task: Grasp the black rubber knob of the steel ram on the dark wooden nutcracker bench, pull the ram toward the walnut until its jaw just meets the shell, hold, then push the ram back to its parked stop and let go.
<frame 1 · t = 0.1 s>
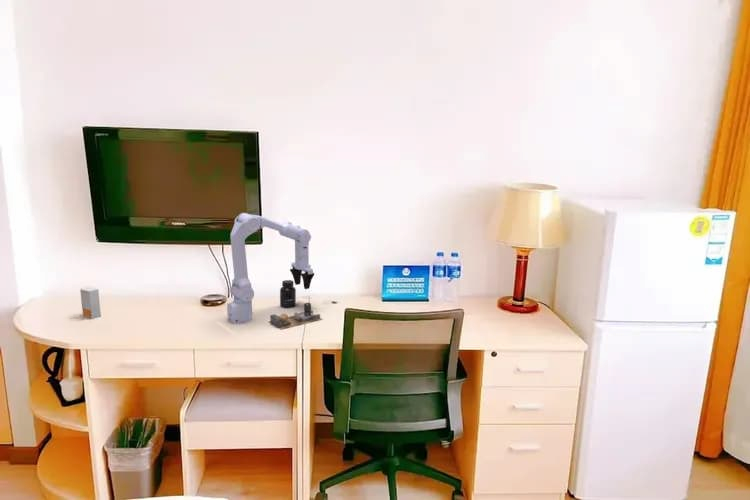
hand: (302, 286, 242), 10 cm above the table, tool pointing down, fingers open, 7 cm apart
bench: (295, 323, 227), on the table
skincare box: (92, 316, 231), on the table
ram: (304, 311, 229), point 4 cm above the table, slide at 2.0 cm
supplement bottle: (288, 308, 245), on the table
walnut: (283, 323, 224), point 1 cm above the table, touching bench
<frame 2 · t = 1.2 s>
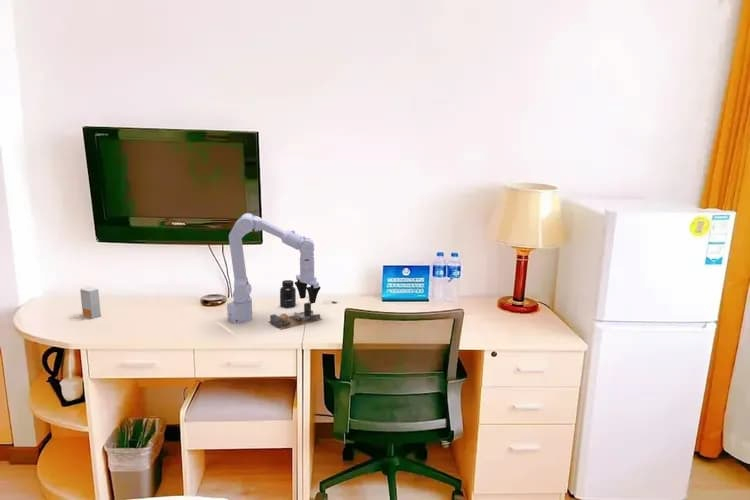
hand: (307, 300, 229), 8 cm above the table, tool pointing down, fingers open, 7 cm apart
nothing on the table moved.
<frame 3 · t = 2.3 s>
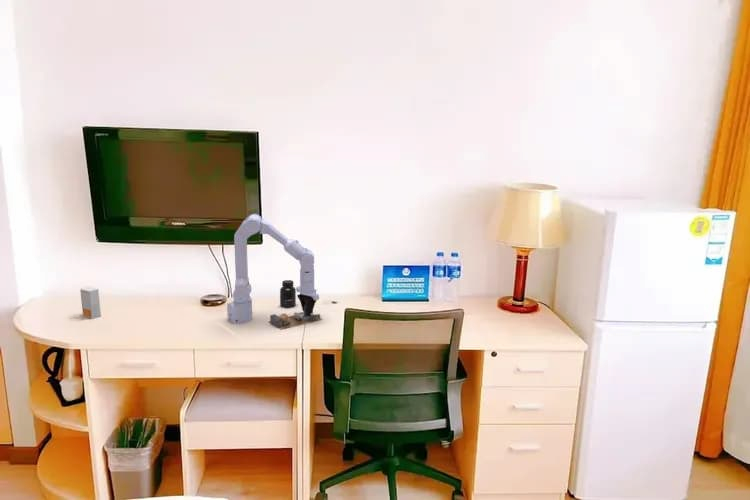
hand: (307, 312, 230), 3 cm above the table, tool pointing down, fingers closed on ram, 3 cm apart
ram: (304, 311, 229), point 4 cm above the table, slide at 2.0 cm, touching gripper
everything else where it was.
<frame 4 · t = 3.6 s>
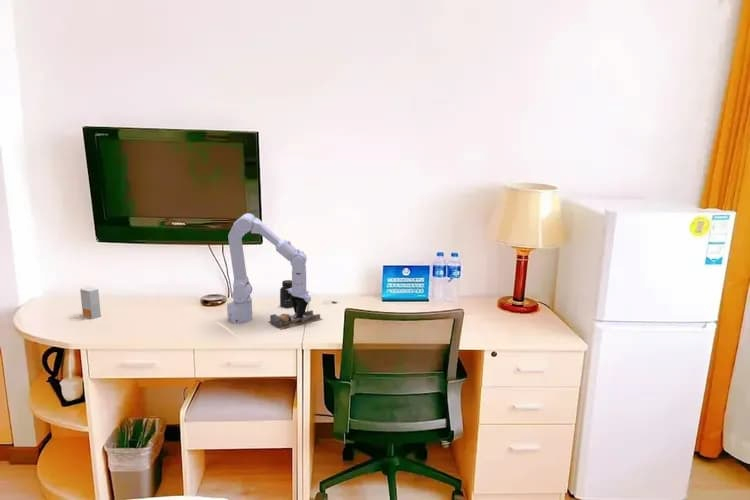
hand: (299, 314, 228), 3 cm above the table, tool pointing down, fingers closed on ram, 3 cm apart
ram: (296, 313, 227), point 4 cm above the table, slide at 5.7 cm, touching gripper
everything else where it was.
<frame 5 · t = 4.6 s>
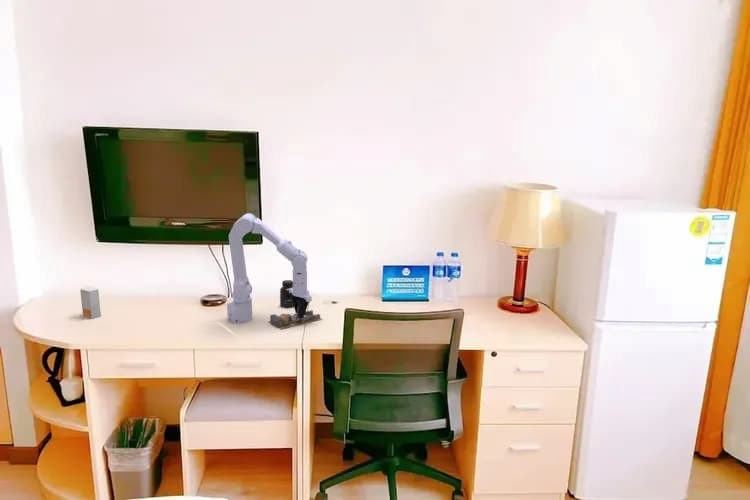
hand: (300, 313, 228), 3 cm above the table, tool pointing down, fingers closed on ram, 3 cm apart
ram: (297, 312, 227), point 4 cm above the table, slide at 5.4 cm, touching gripper
everything else where it was.
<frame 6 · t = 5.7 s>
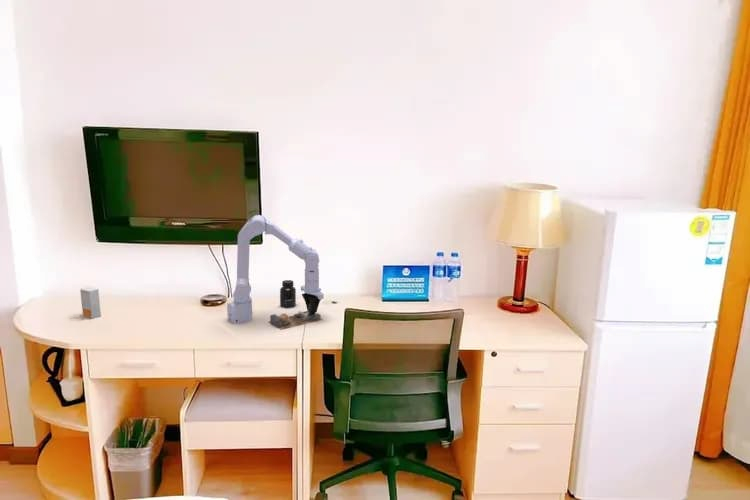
hand: (312, 311, 232), 3 cm above the table, tool pointing down, fingers closed on ram, 3 cm apart
ram: (308, 310, 230), point 4 cm above the table, slide at 0.0 cm, touching gripper
everything else where it was.
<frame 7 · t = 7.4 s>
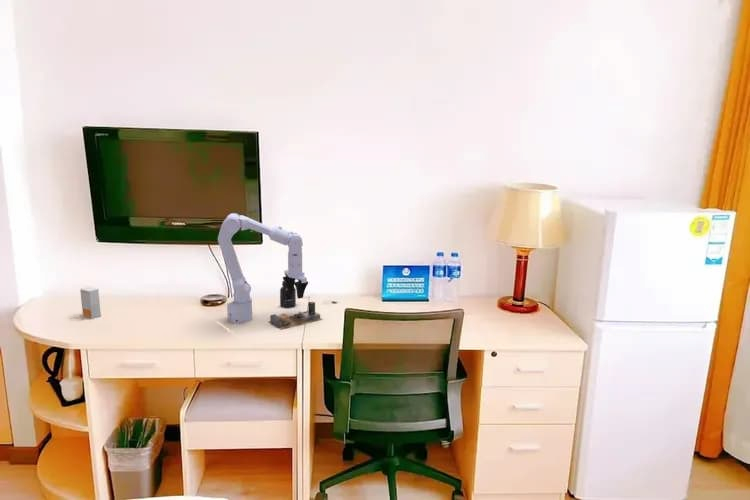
hand: (295, 295, 229), 10 cm above the table, tool pointing down, fingers open, 7 cm apart
ram: (308, 310, 230), point 4 cm above the table, slide at 0.0 cm
everything else where it was.
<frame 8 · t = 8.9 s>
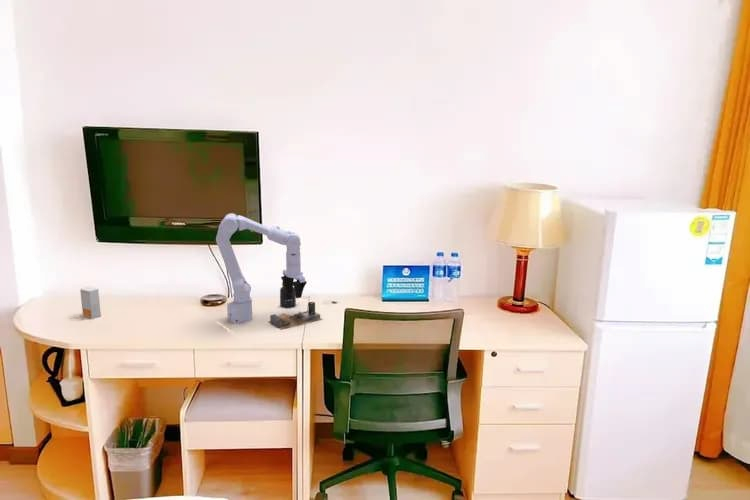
hand: (293, 295, 229), 10 cm above the table, tool pointing down, fingers open, 7 cm apart
nothing on the table moved.
at the end: ram slide at 0.0 cm; walnut 0.2 cm from the target spot, point 1.0 cm above the table; the gripper is holding nothing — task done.
